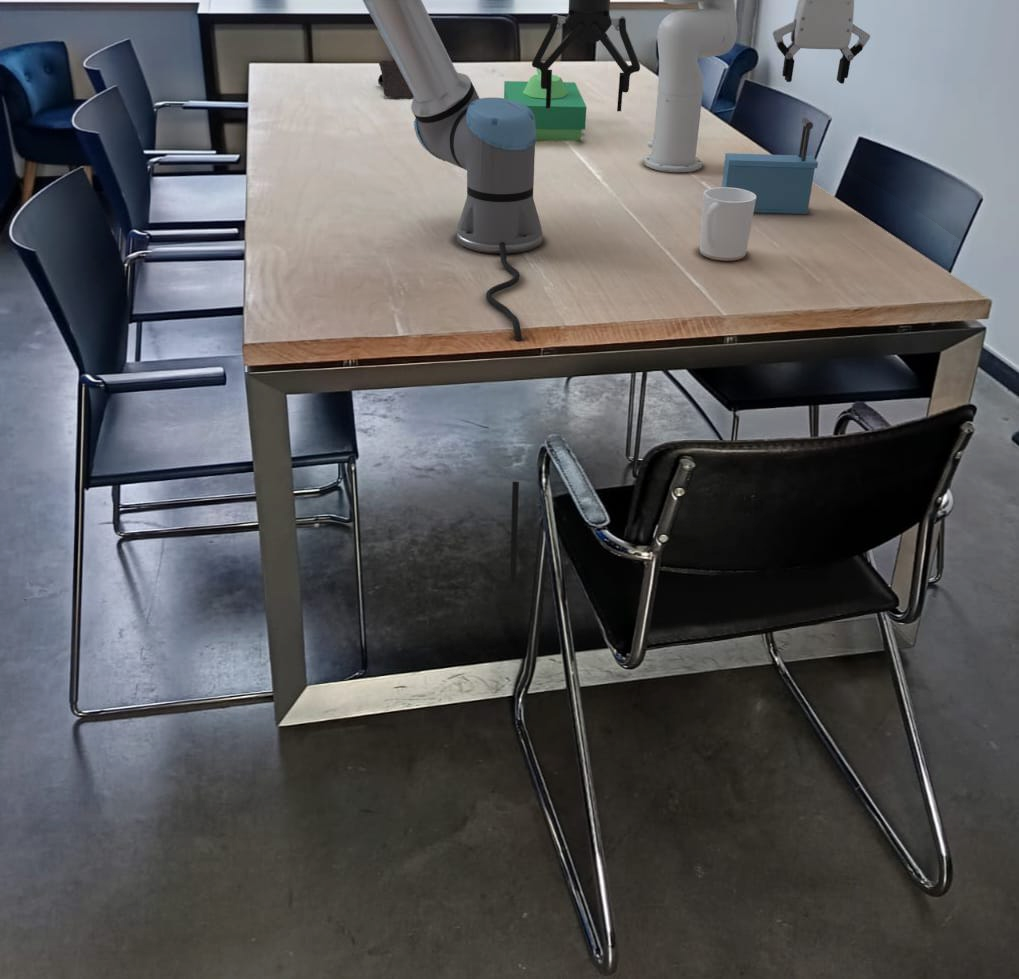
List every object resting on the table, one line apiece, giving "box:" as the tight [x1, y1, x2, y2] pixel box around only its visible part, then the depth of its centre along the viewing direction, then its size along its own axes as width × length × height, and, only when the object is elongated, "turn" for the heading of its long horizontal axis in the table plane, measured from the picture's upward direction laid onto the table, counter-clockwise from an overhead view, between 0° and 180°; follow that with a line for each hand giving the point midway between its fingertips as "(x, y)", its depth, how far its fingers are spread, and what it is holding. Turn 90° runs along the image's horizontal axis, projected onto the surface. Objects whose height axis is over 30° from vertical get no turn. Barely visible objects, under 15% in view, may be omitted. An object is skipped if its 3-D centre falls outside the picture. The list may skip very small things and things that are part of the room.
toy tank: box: [503, 68, 587, 142], centre depth 266 cm, size 18×12×35 cm
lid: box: [724, 117, 819, 169], centre depth 208 cm, size 17×5×8 cm, turn 88°
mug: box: [699, 186, 756, 262], centre depth 189 cm, size 11×9×10 cm
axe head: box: [377, 59, 414, 99], centre depth 299 cm, size 18×8×15 cm
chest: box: [721, 158, 816, 215], centre depth 213 cm, size 16×5×9 cm, turn 88°
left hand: (583, 108), depth 210 cm, fingers open, 13 cm apart
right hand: (813, 81), depth 202 cm, fingers open, 9 cm apart
